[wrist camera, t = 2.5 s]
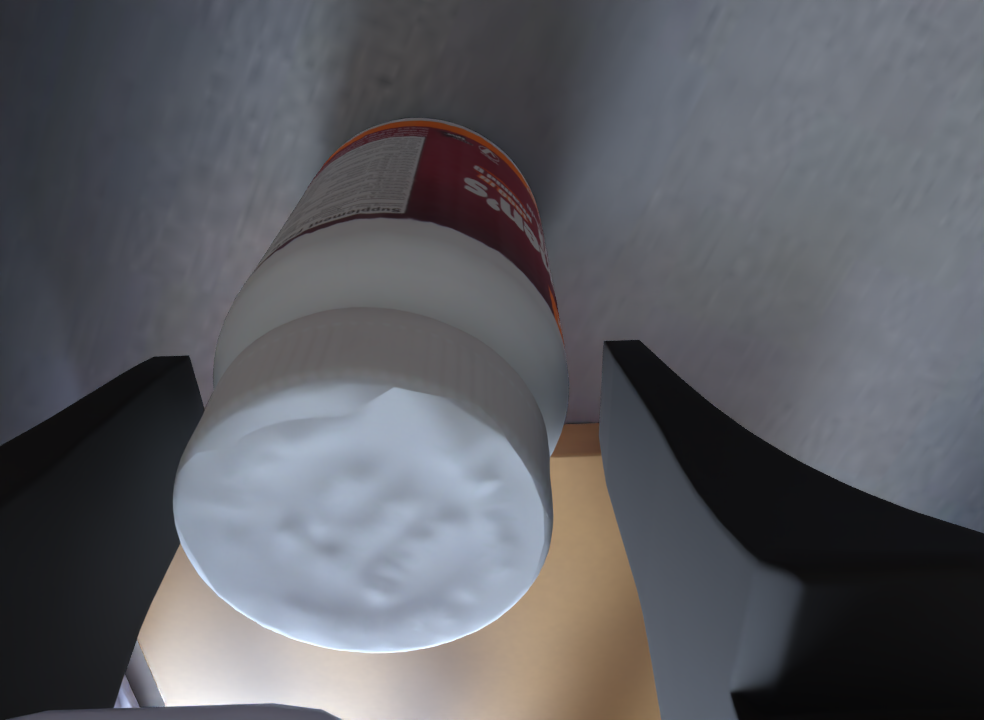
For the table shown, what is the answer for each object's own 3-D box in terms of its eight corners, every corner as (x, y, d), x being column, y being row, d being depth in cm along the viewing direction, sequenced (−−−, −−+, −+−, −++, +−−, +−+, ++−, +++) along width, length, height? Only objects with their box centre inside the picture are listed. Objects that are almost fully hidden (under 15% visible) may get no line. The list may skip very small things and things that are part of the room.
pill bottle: (577, 270, 20) (669, 594, 11) (389, 364, 22) (317, 725, 12) (465, 62, 17) (449, 243, 8) (258, 186, 19) (26, 469, 9)
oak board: (197, 713, 30) (183, 751, 29) (89, 440, 23) (64, 473, 22) (684, 696, 30) (694, 733, 29) (729, 417, 23) (745, 448, 21)
